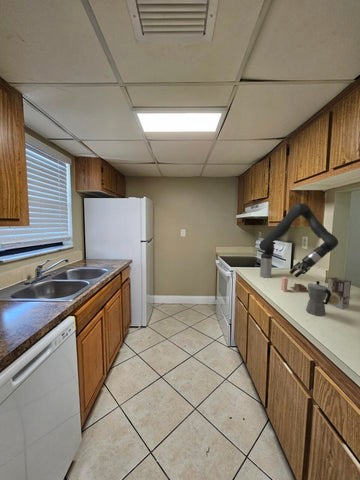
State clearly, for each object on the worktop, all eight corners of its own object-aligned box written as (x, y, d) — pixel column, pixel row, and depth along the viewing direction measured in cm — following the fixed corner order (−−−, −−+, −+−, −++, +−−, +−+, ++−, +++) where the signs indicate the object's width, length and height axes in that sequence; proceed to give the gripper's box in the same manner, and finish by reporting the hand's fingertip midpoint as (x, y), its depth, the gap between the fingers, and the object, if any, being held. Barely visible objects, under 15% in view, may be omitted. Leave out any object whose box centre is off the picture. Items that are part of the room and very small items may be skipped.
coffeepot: (299, 307, 120) (301, 277, 118) (314, 307, 121) (316, 277, 119) (320, 320, 105) (322, 286, 103) (336, 320, 106) (339, 286, 104)
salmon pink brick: (281, 290, 149) (282, 276, 148) (284, 290, 149) (285, 276, 148) (283, 292, 144) (284, 278, 143) (286, 292, 144) (287, 278, 143)
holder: (289, 287, 155) (289, 281, 155) (303, 288, 154) (303, 282, 153) (296, 293, 143) (296, 286, 143) (311, 294, 142) (312, 287, 142)
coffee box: (349, 307, 121) (351, 281, 119) (342, 309, 118) (344, 282, 117) (332, 302, 129) (335, 277, 127) (326, 303, 127) (328, 278, 125)
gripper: (302, 253, 149) (285, 268, 151) (312, 257, 135) (293, 273, 137) (310, 261, 149) (292, 275, 151) (320, 265, 135) (301, 281, 137)
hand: (292, 274), depth 144 cm, fingers open, 8 cm apart
